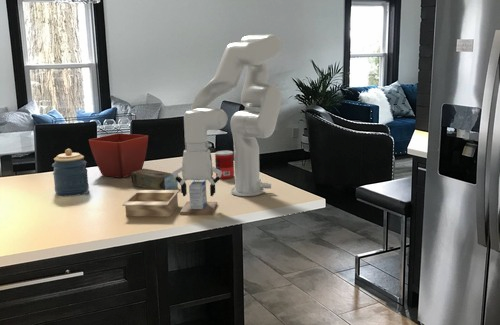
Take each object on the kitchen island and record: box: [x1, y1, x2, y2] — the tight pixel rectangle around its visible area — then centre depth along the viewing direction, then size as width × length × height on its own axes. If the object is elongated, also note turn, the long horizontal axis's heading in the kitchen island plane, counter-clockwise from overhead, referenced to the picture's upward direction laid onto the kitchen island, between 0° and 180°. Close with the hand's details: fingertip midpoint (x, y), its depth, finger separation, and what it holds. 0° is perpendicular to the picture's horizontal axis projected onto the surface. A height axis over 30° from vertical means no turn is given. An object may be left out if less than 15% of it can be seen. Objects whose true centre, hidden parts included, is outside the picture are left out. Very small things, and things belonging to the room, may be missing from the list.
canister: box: [51, 148, 90, 197], centre depth 213 cm, size 13×13×18 cm
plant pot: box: [88, 132, 149, 179], centre depth 243 cm, size 19×19×17 cm
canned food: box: [214, 150, 235, 180], centre depth 233 cm, size 8×8×11 cm
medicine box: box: [188, 180, 208, 209], centre depth 188 cm, size 8×4×9 cm, turn 174°
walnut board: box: [179, 201, 218, 216], centre depth 189 cm, size 11×12×1 cm
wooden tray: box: [122, 189, 180, 217], centre depth 188 cm, size 15×18×5 cm
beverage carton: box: [130, 168, 179, 190], centre depth 220 cm, size 8×19×7 cm, turn 56°
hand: (198, 195), depth 188 cm, fingers open, 9 cm apart
